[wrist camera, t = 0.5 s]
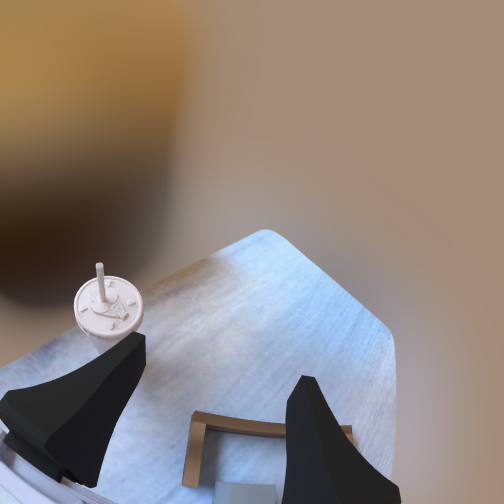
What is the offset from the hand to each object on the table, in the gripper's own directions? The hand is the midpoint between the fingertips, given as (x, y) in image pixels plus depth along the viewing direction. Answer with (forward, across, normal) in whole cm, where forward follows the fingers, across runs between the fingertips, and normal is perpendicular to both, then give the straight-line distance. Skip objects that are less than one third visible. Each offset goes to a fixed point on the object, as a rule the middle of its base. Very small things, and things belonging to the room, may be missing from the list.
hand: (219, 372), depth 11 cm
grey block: (-1, -4, +20) cm, 20 cm away
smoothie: (+11, +12, +14) cm, 21 cm away
